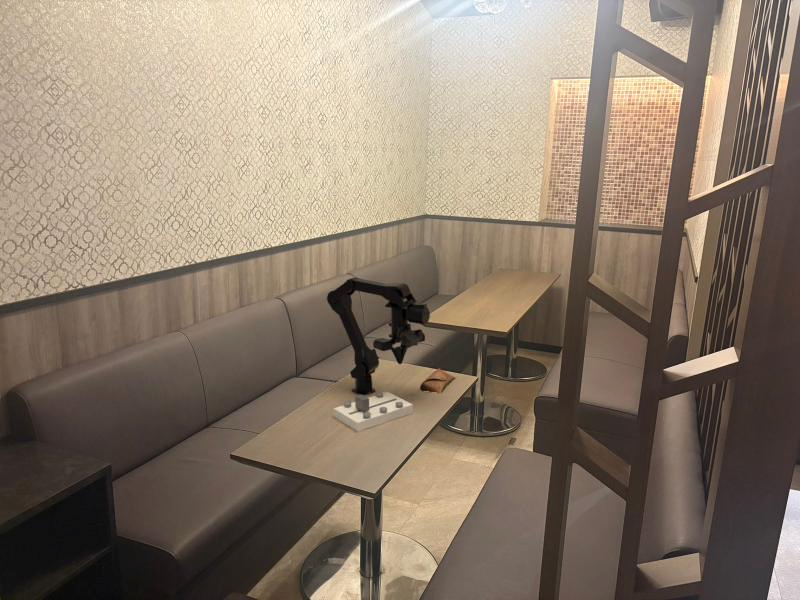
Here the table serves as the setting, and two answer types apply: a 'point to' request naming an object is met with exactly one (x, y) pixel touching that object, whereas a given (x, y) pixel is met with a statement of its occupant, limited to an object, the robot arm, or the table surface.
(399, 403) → the mixer console
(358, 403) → the fader
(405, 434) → the table surface
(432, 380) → the sunglasses case
